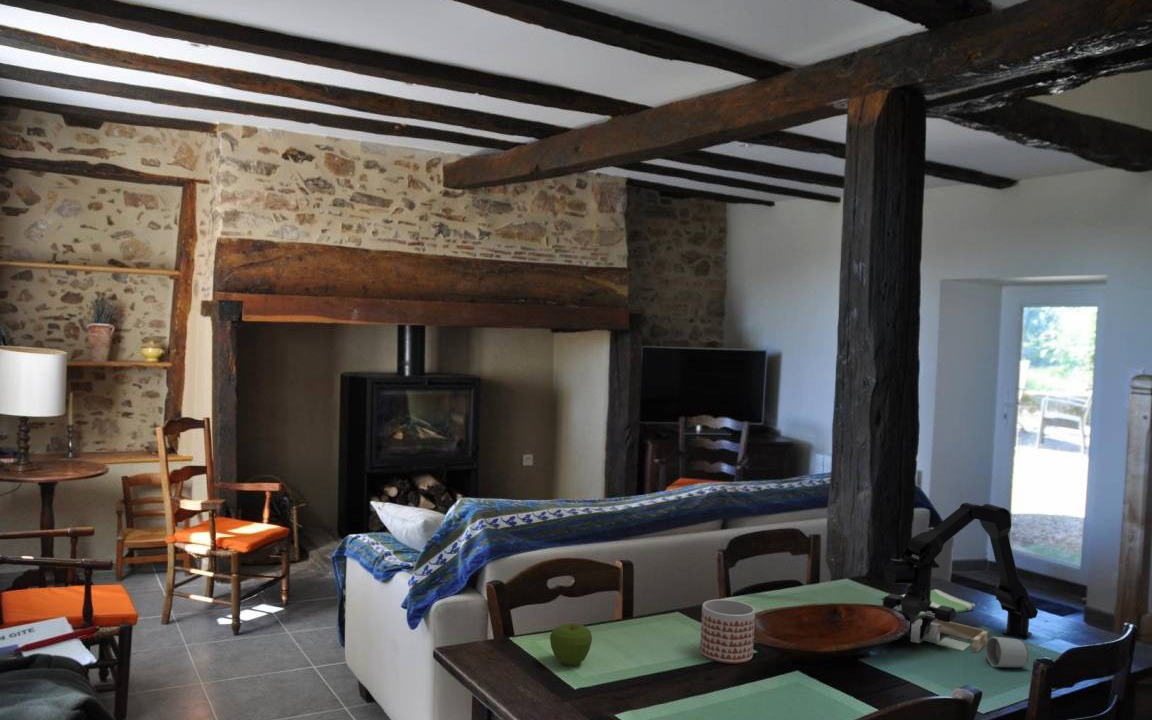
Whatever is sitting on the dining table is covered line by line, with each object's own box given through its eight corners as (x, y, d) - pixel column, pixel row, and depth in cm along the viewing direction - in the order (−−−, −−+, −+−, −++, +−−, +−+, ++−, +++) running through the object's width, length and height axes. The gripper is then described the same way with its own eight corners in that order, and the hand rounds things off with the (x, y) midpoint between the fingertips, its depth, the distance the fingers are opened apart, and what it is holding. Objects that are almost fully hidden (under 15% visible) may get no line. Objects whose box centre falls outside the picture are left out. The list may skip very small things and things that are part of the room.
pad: (945, 638, 260) (945, 637, 260) (971, 645, 255) (971, 644, 255) (937, 644, 255) (937, 643, 254) (963, 651, 250) (963, 650, 250)
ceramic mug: (1029, 671, 237) (1031, 642, 237) (1000, 671, 236) (1001, 642, 236) (1006, 657, 247) (1008, 629, 247) (977, 657, 247) (979, 628, 246)
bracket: (918, 636, 261) (919, 618, 261) (939, 641, 257) (940, 624, 257) (910, 641, 256) (911, 623, 256) (932, 646, 252) (933, 629, 252)
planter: (762, 655, 239) (765, 608, 239) (733, 668, 229) (736, 618, 229) (719, 641, 248) (721, 595, 248) (689, 653, 238) (692, 605, 238)
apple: (570, 652, 235) (572, 614, 234) (600, 664, 227) (602, 625, 227) (539, 661, 227) (541, 622, 227) (569, 674, 220) (571, 634, 219)
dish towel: (879, 600, 296) (880, 591, 296) (937, 596, 304) (937, 588, 304) (917, 618, 280) (917, 609, 279) (977, 613, 288) (978, 604, 287)
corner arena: (930, 628, 268) (931, 616, 268) (988, 643, 258) (989, 630, 258) (916, 637, 259) (917, 625, 259) (975, 653, 249) (976, 640, 249)
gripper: (876, 580, 256) (873, 635, 256) (944, 596, 244) (941, 653, 244) (891, 573, 264) (888, 626, 265) (958, 588, 252) (954, 643, 253)
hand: (916, 637), depth 256 cm, fingers closed on bracket, 2 cm apart
